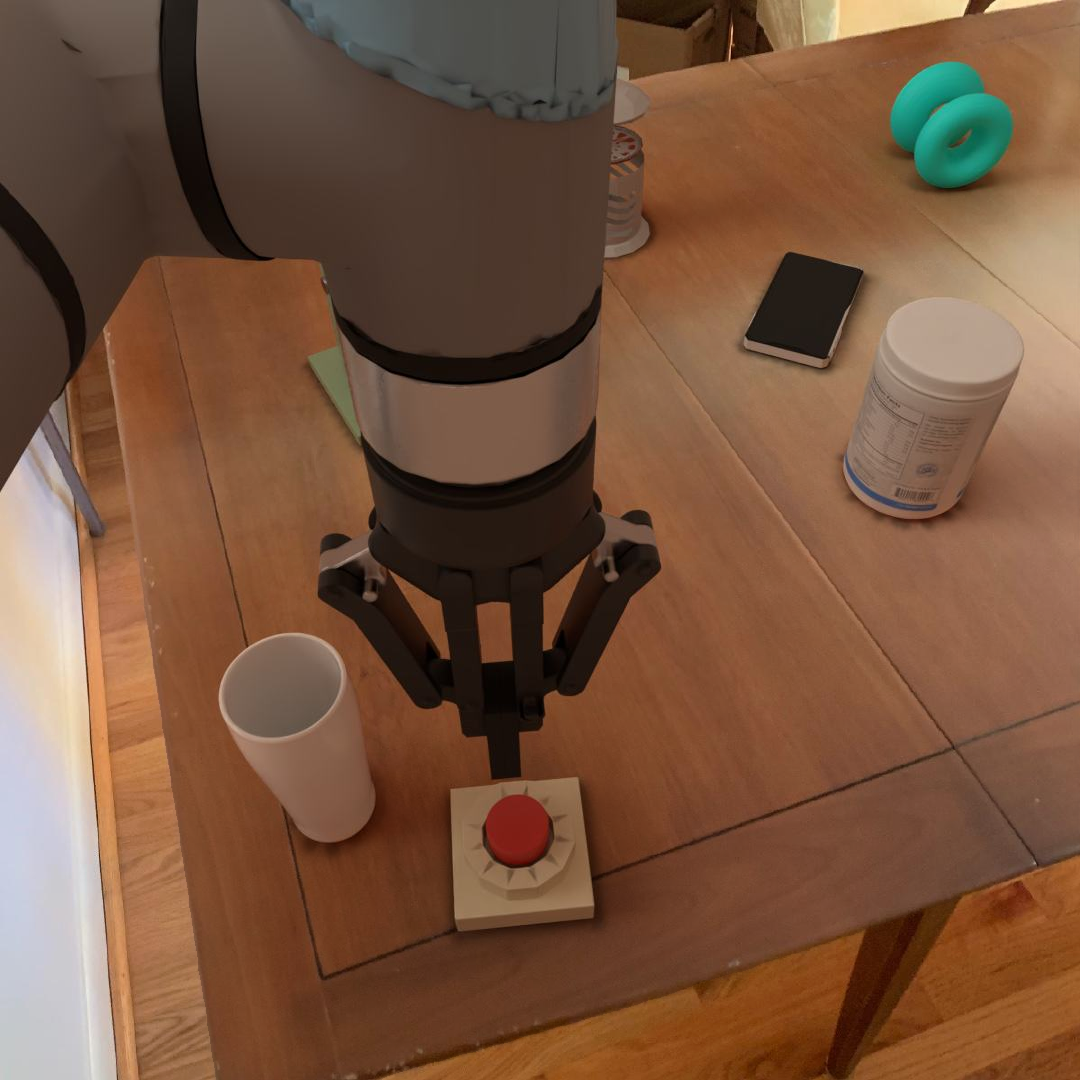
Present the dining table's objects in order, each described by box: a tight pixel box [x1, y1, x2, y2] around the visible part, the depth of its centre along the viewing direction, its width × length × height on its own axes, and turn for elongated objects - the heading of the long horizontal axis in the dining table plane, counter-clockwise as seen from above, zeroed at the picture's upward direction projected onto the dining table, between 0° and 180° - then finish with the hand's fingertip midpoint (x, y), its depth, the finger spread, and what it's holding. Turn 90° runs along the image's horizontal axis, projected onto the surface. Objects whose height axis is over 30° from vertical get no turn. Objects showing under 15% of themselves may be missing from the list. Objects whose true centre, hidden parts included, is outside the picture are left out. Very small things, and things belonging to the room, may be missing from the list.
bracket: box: [307, 262, 362, 447], centre depth 82 cm, size 12×9×14 cm
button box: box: [449, 776, 595, 932], centre depth 58 cm, size 8×8×4 cm
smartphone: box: [742, 251, 865, 369], centre depth 92 cm, size 8×1×15 cm
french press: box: [604, 78, 651, 259], centre depth 92 cm, size 10×12×25 cm
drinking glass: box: [218, 632, 377, 844], centre depth 56 cm, size 7×7×15 cm
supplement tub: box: [842, 296, 1025, 520], centre depth 73 cm, size 10×10×15 cm
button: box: [486, 794, 549, 865], centre depth 56 cm, size 4×4×2 cm
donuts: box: [889, 61, 1014, 189], centre depth 104 cm, size 10×10×10 cm
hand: (504, 753), depth 49 cm, fingers closed
